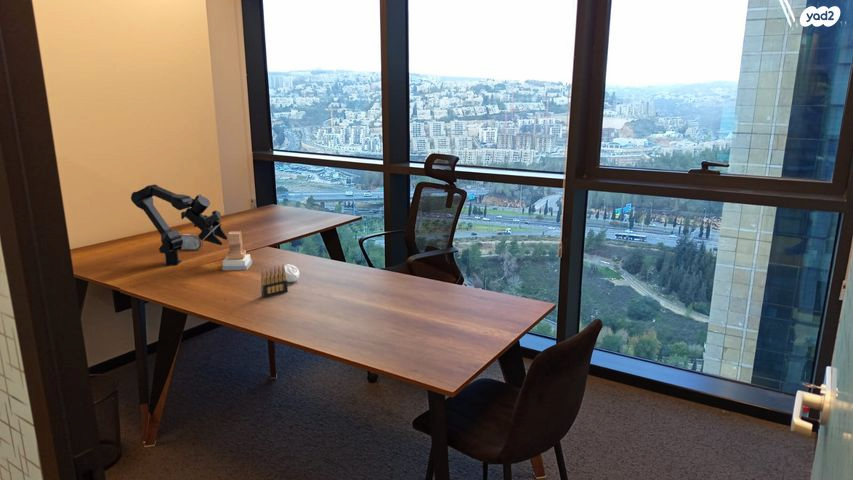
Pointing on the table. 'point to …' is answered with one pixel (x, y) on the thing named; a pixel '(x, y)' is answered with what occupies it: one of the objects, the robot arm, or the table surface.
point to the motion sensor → (291, 273)
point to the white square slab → (237, 261)
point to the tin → (191, 242)
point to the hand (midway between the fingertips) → (224, 241)
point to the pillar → (235, 246)
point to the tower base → (238, 266)
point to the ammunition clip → (273, 282)
